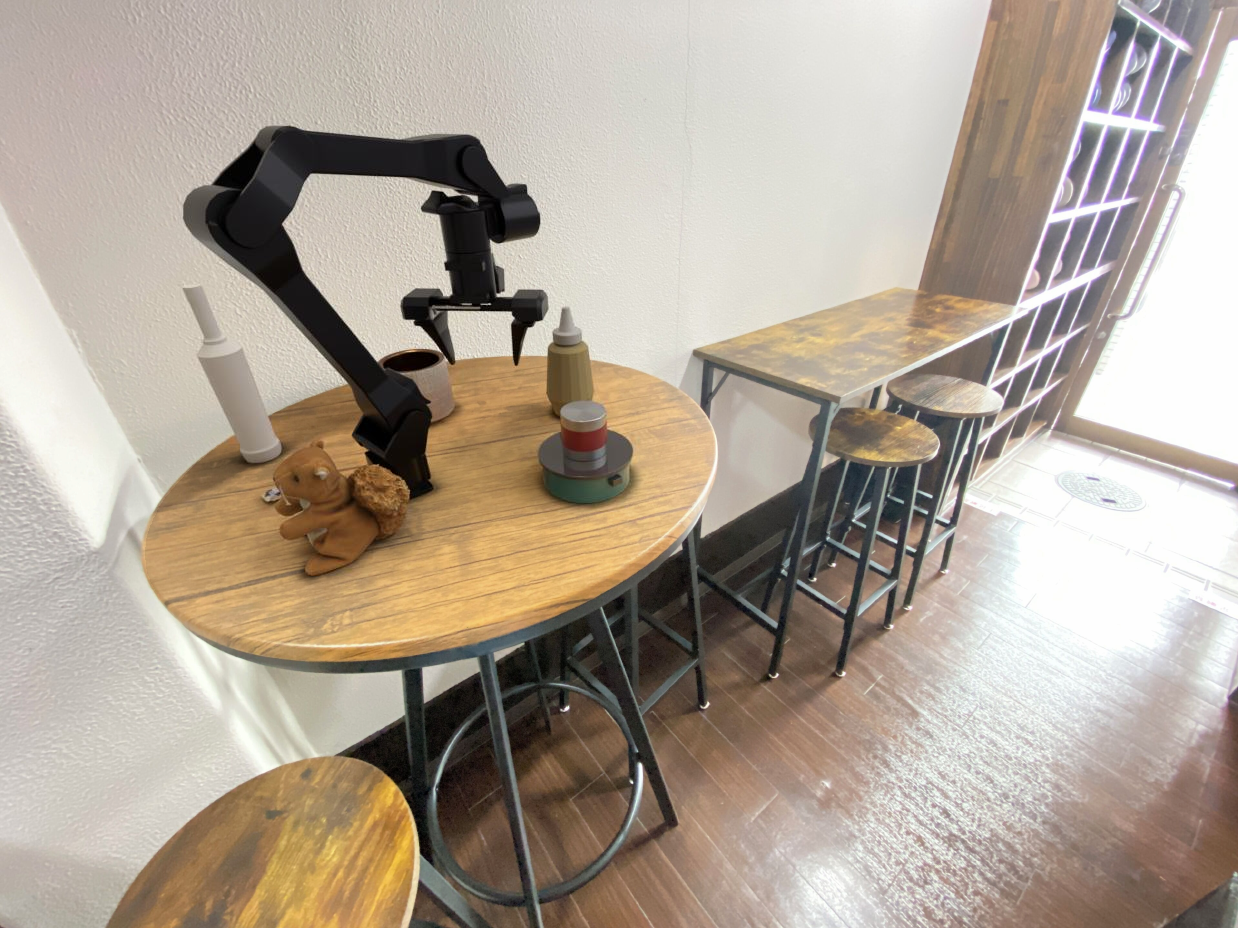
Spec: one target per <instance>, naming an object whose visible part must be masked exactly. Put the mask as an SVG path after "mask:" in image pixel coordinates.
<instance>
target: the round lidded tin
mask: <svg viewBox="0 0 1238 928" xmlns="http://www.w3.org/2000/svg"><path fill="white" fill-rule="evenodd" d="M633 458H634V447H633V444H632V442H631V441H630V440H629V439H628V438H627V437H626V436H624V435H623V434H621V433H619V432H617V431H614V430H612V429H609V428H607V451H606V453H605V454H604V455H603V456H602V457H601V458H599V459H596V460H592V461H575V460H572V459H569V458H568V457H566V456H565V455H564V453H563V445H562V436H561V431H558V432H555V433H554V434H552V435H550V436H549V437H547V438H546V439H544V440H543V441H542V442H541V444H540V445H539V447H538V449H537V460H538V463H539V464H540V466H541V467H542V474H543V483H544V486H545V488H546V490H547V491H548V492H549V493H550V494H551V495H552V496H553V497H555V498H557V499H559V500H562V501H565V502H568V503H574V504H594V503H602V502H603V501H607V500H610V499H613V498H614V497H616V496H619V494H621V493H622V492H623V491H625V489H626V488H627V487H628V485H629V482H630V464H631V462H632V460H633Z"/></svg>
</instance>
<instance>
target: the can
mask: <svg viewBox="0 0 1238 928" xmlns="http://www.w3.org/2000/svg"><path fill="white" fill-rule="evenodd" d="M607 429H608V418H607V408H606V407H605V406H604V405H603V403H600V402H597V401H594V400H592V401H575V402H571V403H569V404H566V405H565V406H563V407H562V408H561V411H560V432H561V436H562V445H563V453H564V455H565V456H566V457H568V458H569V459H572V460H575V461H592V460H596V459H599V458H601V457H602V456H603V455H604V454H605V453H606V451H607Z"/></svg>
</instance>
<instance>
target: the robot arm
mask: <svg viewBox="0 0 1238 928" xmlns="http://www.w3.org/2000/svg"><path fill="white" fill-rule="evenodd" d="M488 156H489V155H488V154H487V151H486V149H485V147H484V146H483V144H482V142H481V139H479V138H478V137H477V136H475V135H471V134H469V133H468V134H467V133H429V134H423V135H415V136H410V137H406V138H399V139H398V138H389V137H378V136H367V135H359V134H348V133H347V134H346V133H338V132H337V133H335V132H328V131H327V132H326V131H325V132H324V131H316V130H307V129H306V130H305V129H302V128H300V127H296V126H293V125H266V126H264V127H263V128H261V129H260V130H259V131H258V133H257V134H256V136H255V137H254V139H253V140H252V141H251V143H250V144H249V145H248V147H246V148H245V149H244V150H243V151H242V152H241V153H240V154H239V155H237V156H236V157H235V158H234V160H232V161H231V162H230V163H229V164H227V166H225V168H224V169H222V170H221V172H220V173H218V175H217V176H216V178H215V179H214V180H213V181H212V182H211V184H204V185H201V186H198V187H195V188H193V189H192V190H191V191H190V192H189V193H188V194H187V195H186V197H185V200H184V202H183V204H182V220H183V223H184V225H185V227H186V228H187V229H188V231H189V232H190V234H191V235H192V236H193V238H195V239H196V240H197V241H198V242H199V243H201V245H203V246H205V247H206V248H207V249H208V250H209V251H210V252H212V253H213V254H214V255H215V256H217V257H218V258H220V259H221V260H222V261H223V262H224V263H225V264H227V265H229V266H230V267H231V268H232V269H234V270H235V271H237V272H238V273H239V274H240V275H242V276H243V277H245V278H246V279H248V280H249V281H250V282H252V283H253V284H254V285H256V286H257V287H259V288H260V289H261V290H262V291H263V292H264V293H265V294H266V295H267V296H268V297H269V299H270V300H271V301H272V302H273V303H274V304H275V305H276V306H277V307H278V309H280V310H281V312H282V313H283V314H284V315H285V316H286V317H287V318H288V319H289V320H290V322H292V324H293V325H294V326H295V327H296V329H298V330H299V332H301V334H303V336H304V337H305V338H306V339H307V340H308V342H310V343H311V344H312V346H313V347H314V348H315V349H316V350H317V351H318V352H319V353H320V355H322V357H323V358H324V359H325V360H326V361H327V362H328V363H329V364H330V365H331V367H332V368H333V369H334V370H335V371H336V372H337V374H339V375H340V376H341V378H342V379H344V380H345V382H346V383H347V384H348V386H349V387H350V389H351V391H352V394H353V397H354V400H355V403H356V404H357V406H358V407H359V409H360V411H361V412H362V414H361V417H360V418H359V420H358V422H357V424H356V426H355V427H354V429H353V430H352V433H351V438H352V439H353V440H354V441H355V442H356V444H358V446H360V447H361V448H363V449H366V451H364V457H365V460H366V464H367V465H368V466H369V465H370V466H371V465H373V464H374V465H377V464H379V466H381V467H383V468H386V469H387V470H390V471H391V472H392V474H395V475H396V476H399V477H401V478H402V480H405V484H406V486H408V489H409V490H410V495H409V497H410V498H409V500H411V499H414V498H415V497H418V496H421V495H423V494H426V493H429V492H432V491H433V490H434V489H435V487H434V484H433V483H432V482H431V481H430V480H431V479H432V474H431V469H430V465H429V462H428V457H427V454H426V452H427V445H428V437H429V436H428V435H429V430H430V427H431V424H432V423H431V419H432V418H433V415H432V412H431V410H430V408H429V407H428V406H427V405H426V404H430V403H431V401H430V400H428V399H426V398H425V397H424V396H423V395H422V394H421V392H420V390H419V388H418V386H417V385H416V383H415V382H414V381H413V379H411V378H409V377H407V376H404V375H402V374H400V373H398V372H396V371H394V370H392V369H390V368H387V369H386V370H385V371H384V370H383V368H382V367H381V366H380V365H379V363H378V361H377V360H376V359H375V357H374V356H373V355H372V354H371V352H370V351H369V350H368V349H367V348H366V346H365V345H364V343H363V342H362V341H361V339H359V337H358V336H357V335H356V334H355V333H354V332H353V330H352V329H351V328H350V327H349V325H347V323H346V322H345V321H344V319H343V318H342V317H341V316H340V315H339V313H338V312H337V311H336V309H335V308H334V307H333V305H331V304H330V302H329V301H328V300H327V299H326V297H325V296H324V295H323V294H322V293H321V291H320V290H319V289H318V287H317V286H316V285H315V284H314V283H313V281H312V280H311V279H310V278H309V277H308V275H307V274H306V272H305V270H304V269H303V265H302V263H301V260H300V257H299V255H298V252H297V249H296V246H295V243H294V242H293V240H292V238H291V237H290V235H289V233H288V232H287V229H285V226H284V225H283V224H284V222H285V221H286V220H287V219H288V217H289V216H290V214H291V213H292V211H294V209H295V206H296V204H297V202H298V199H299V197H300V195H301V192H302V189H303V186H304V185H305V182H306V181H307V180H308V178H309V177H310V176H311V175H333V176H334V175H335V176H356V177H358V176H359V177H381V178H382V177H383V178H405V179H408V180H411V181H414V182H417V183H421V184H425V185H429V186H433V187H435V188H441V189H447V190H448V189H449V190H453V191H454V192H456V194H458V195H447V194H446V192H444V191H442V190H435V189H432V190H431V191H430V194H429V197H428V198H427V199H426V200H425V201H424V202H423V203H422V205H420V210H421V212H422V213H425V214H430V215H438V217H439V224H440V230H441V235H442V242H443V248H444V253H445V259H446V260H445V261H444V262H443V264H444V270H445V272H448V276H449V283H450V288H451V294H450V295H444V293H443V292H442V290H441V289H440V288H438V287H437V288H435V287H433V288H431V287H430V288H428V287H427V288H425V287H424V288H423V287H416V288H414V289H413V290H410V292H408V293H407V294H406V295H404V296H403V297H402V298H401V300H400V306H399V307H400V311H401V316H402V319H403V320H405V321H413V325H414V326H415V327H420V328H421V329H422V330H423V331H424V332H425V333H426V334H427V336H428V337H429V338H430V339H431V340H432V341H433V342H434V344H435V345H436V346H437V348H438V349H439V351H440V352H441V353H443V355H444V356H445V359H446V361H447V362H448V364H449V365H451V366H454V365H455V364H456V354H455V349H454V343H453V340H452V336H451V332H450V327H449V322H448V321H449V315H448V314H449V312H494V313H495V312H498V313H500V312H503V313H504V312H505V313H508V312H509V313H511V316H512V317H513V320H512V321H511V323H510V335H511V348H512V349H511V350H512V361H513V364H514V366H515V367H518V366H519V364H520V359H521V356H522V351H523V346H524V342H525V338H526V334H527V331H528V330H529V328H533V327H535V325H536V324H537V323H538V322H542V321H544V318H545V317H546V315H547V313H548V311H549V309H550V308H549V296H548V293H547V292H545V290H544V289H531V288H530V289H528V288H527V289H526V288H525V289H524V288H523V289H522V288H521V289H520V288H518V289H517V290H516V292H515V293H514V294H513V296H498V295H501V293H504V292H505V291H506V285H505V284H506V283H505V280H506V279H505V268H503V267H502V266H500V265H497V264H496V260H495V256H494V252H492V246H491V245H492V244H491V242H492V243H494V244H499V245H501V244H504V243H511V242H515V241H521V240H525V239H531V238H534V237H535V236H536V235H537V234H538V233H539V231H540V227H541V213H540V211H539V209H538V206H537V204H536V201H535V200H534V199H533V197H532V196H531V195H530V194H529V193H528V185H527V184H526V183H519V182H515V183H514V182H513V183H509V184H507V185H506V184H505V182H504V180H503V179H502V178H501V176H500V175H499V173H498V172H497V170H496V169H495V167H494V165H493V164H492V162H491V161H490V160H489V157H488ZM469 196H474V197H476V198H477V201H474V200H473V198H471V197H469ZM497 294H498V295H497Z"/></svg>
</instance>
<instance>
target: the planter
mask: <svg viewBox="0 0 1238 928" xmlns="http://www.w3.org/2000/svg"><path fill="white" fill-rule="evenodd" d="M377 362H378V363H379V365H380V366H381V367H382V368H383V370H384V371H385V370H386V369H387V368H390V369H392V370H394V371H396V372H398V373H400V374H402V375H404V376H407V377H409V378H411V379H413V381H414V382H415V383H416V385H417V386H418V388H419V390H420V392H421V394H422V395H423V396H424V397H425V398H426V399H428V400H430V401H431V403H430V404H426V405H427V406H428V407H429V408H430V410H431V412H432V415H433V418H432V419H431V424H434V423H438V422H439V421H442V420H443V419H445V418H447V417H448V416H450V414H451V413H452V412H453V411H454V410H455V399H454V393H453V389H452V384H451V379H450V374H449V370H448V365H447V359H446V357H445V356H444V355H443V353H442V352H441V351H440V350H436V349H431V348H411V349H410V348H409V349H404V350H399V351H395V352H392V353H389V354H386V355H385V356H383V357H381V358H380V359H379V360H378V361H377Z"/></svg>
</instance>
